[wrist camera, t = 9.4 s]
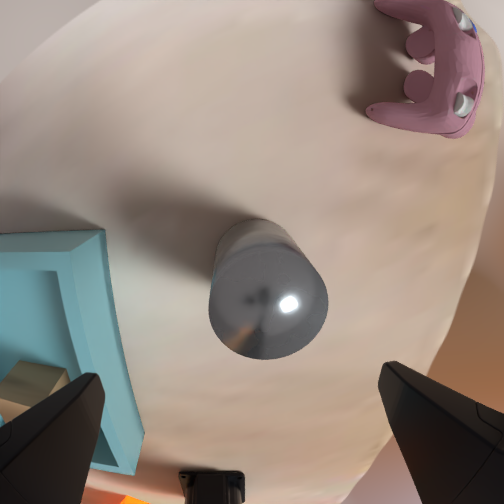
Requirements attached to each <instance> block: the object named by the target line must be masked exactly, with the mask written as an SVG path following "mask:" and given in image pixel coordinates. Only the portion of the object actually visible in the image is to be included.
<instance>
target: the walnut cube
mask: <svg viewBox="0 0 504 504" xmlns="http://www.w3.org/2000/svg"><path fill="white" fill-rule="evenodd" d="M70 382H71V381H70V378H69V375H68V372H67V369H66V368H60V367H54V366H48V365H42V364H37V363H31V362H26V361H21V360H19V361H18V362H17V363H16V364H15V366H14V367H13V368H12V369H11V370H10V372H9V373H8V374H7V375H6V376H5V378H4V379H3V380H2V381H1V382H0V414H1V416H2V418H3V420H4V422H5V423H7V422H9V421H12V419H14V418H15V417H17V416H18V415H20V414H22V413H23V412H25V411H26V410H28V409H29V408H31V407H33V406H34V405H36V404H37V403H39V402H40V401H42V400H43V399H45V398H47V397H48V396H50V395H51V394H53V393H54V392H56V391H57V390H59V389H60V388H62V387H64V386H65V385H67V384H68V383H70Z"/></svg>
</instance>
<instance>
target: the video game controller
mask: <svg viewBox="0 0 504 504" xmlns="http://www.w3.org/2000/svg"><path fill="white" fill-rule="evenodd" d="M374 5H375V7H376V8H377V9H378V10H379V11H381V12H383V13H384V14H386V15H389V16H391V17H394V18H397V19H401V20H404V21H408V22H411V23H416V24H420V25H422V26H423V27H422V28H420V29H419V30H417V31H415V32H414V33H412V34H411V35H410V36H409V37H408V38H407V41H406V50H407V52H408V53H409V55H410V56H412V57H413V58H414V59H415V60H417V61H418V62H419V63H421V64H426V65H427V64H431V63H433V62H435V68H434V78H433V77H432V76H431V75H430V74H429V73H427V72H426V71H422V70H415V71H412V72H411V73H409V74H408V76H407V77H406V79H405V82H404V92H405V94H406V96H407V97H409V98H410V100H412V101H413V102H415V103H394V102H380V103H375V104H372V105H370V106H368V107H367V108H366V114H367V115H368V116H369V118H371V119H372V120H373V121H375V122H377V123H380V124H383V125H386V126H390V127H394V128H398V129H403V130H409V131H413V132H421V133H430V134H439V135H442V136H444V137H446V138H452V139H456V138H460V137H462V136H464V135H465V134H466V133H468V131H469V130H470V129H471V128H472V126H473V124H474V121H475V115H476V110H477V108H478V105H479V103H480V100H481V96H482V92H483V86H484V77H485V66H484V56H483V51H482V46H481V43H480V40H479V37H478V35H477V31H476V27H475V25H474V24H473V22H472V21H471V20H470V19H469V18H468V17H467V15H465V13H464V12H463V11H462V10H461V9H459V8H458V7H456V6H455V5H453V4H451V3H449V2H447V1H444V0H374Z"/></svg>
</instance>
